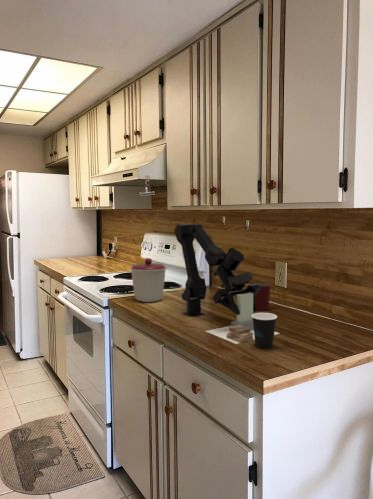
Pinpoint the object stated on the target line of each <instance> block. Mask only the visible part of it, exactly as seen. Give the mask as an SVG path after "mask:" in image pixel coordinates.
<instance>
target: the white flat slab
mask: <svg viewBox="0 0 373 499" xmlns="http://www.w3.org/2000/svg"><path fill="white" fill-rule="evenodd" d="M237 325H241V326H243V327H246V328H248V329H250V332H253V340H250V341H249V342H251V341H255V337H254V327H253V321H251V322H246V323H241V324H240V323H237V320H234V321H231V322H230V325H227V326H224V327H219V328H212V329H210V330H205V332H206V333H208V334H211V335H214V336H215V337H218V338H220V339H224V340H226V341H229V342H230V343H233V344H236V345H238V344H240V343H239V342H237V341H234V340H232V339H229V338H227V334H229V327H231V326H237ZM279 334H280V332H277V331H275V332H274V336H275V335H279ZM246 342H247V343H248V341H246ZM246 342H245V343H246Z"/></svg>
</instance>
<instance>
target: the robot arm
mask: <svg viewBox="0 0 373 499" xmlns="http://www.w3.org/2000/svg"><path fill="white" fill-rule="evenodd" d="M173 230H174V234H175V238H176V241H177V242H178V243H179V244H180V246H181V249H182V254H183V260H184V266H185V270H186V275H187V279H186V282H185V285H184V286H185V290H183V293H182V294H181V299H182V301H183V302H186V310H185V311H183V314H185V315H186V316H190V317H196V316H200V315H204V314H205V313H204V312H203V311H202V304H201V301H202V300H205V299H206V294H207V285H206V280H205V278H203V277H201V276H200V273H199V268H198V263H197V259H196V258H197V257H196V253H195V248H194V247H195V246H194V240H196V242H197V243H198V245H199V246H200V247H201V249H202V250H203V252H204V259H205V260H206V263H207V264H208V266H209V267H216V268H214V272H213V277H218V279H219V280H220V282H221V285H220V287H221V288H219V289H218V290H217V291H216V292H215V293H214V295H213V297H212V300H213V303H214V304H215V305H218V304H219V305H221V306H223V307H225V308H227V309H228V310H229V311H231V312H233V313H234V314H236V316H237V315H239V314H240V312H239V310H238V308H237V303H236V302H235V300H234V297H237V295H238V294H245V293H253V313H257V309H256V303H255V295H256V294H257V293H258V291H259V290H260V288H259V286H258V285H256V284H253V283H252V284H253V285H250V284H249V285H247V287H246V284H248V283H251V281H252V280H253V279H254V278H253V275H252V273H251V272H250V271H246V272H244V273H240V274H237V275H235V272H234V271H236V270H237V269H238V268H239V266H240V265H241V264H242V263H243V262H244V260H245V255H244V254H243V253H242V252H241V251H239V250H237V249H235V248H234V247H230V248H229V249H228V250H227V252H226V251H224V250H223V248H221V247H219V246H217V245H216V244H215V243H214V242H213V240H212V239H211V238H210V237H209V235H208V234H207V232H206V231H205V229H204V228H203V225H202V224H200V223H189V224H188V223H185V224H181V223H180V224H177V225H176V226H175V228H174V229H173ZM244 288H245V289H244Z"/></svg>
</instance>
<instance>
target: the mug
mask: <svg viewBox="0 0 373 499" xmlns="http://www.w3.org/2000/svg"><path fill="white" fill-rule="evenodd" d="M253 284H256V285H258V286H259V288H260V290H259V291H258V293H257V294H256V295H255V303H256V309H257V311H258V312H260V311H261V312H265V311H268V310H269V307H270V295H271V284H269V283H262V282H254V283H253V282H252V283H250V284H249V285H253ZM257 311H256V312H257Z"/></svg>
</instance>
